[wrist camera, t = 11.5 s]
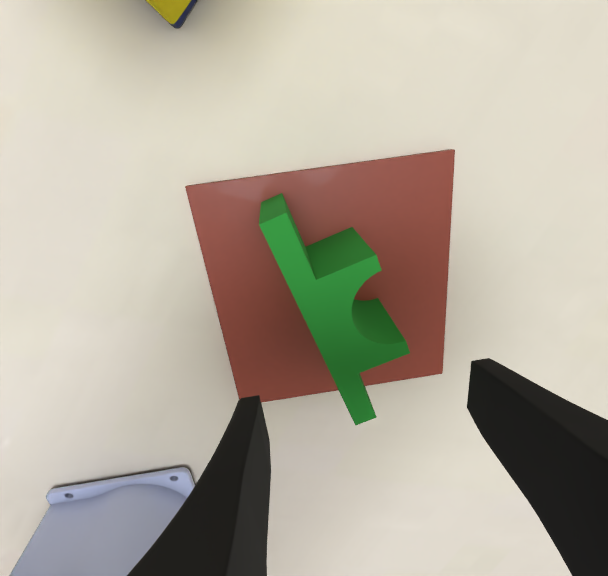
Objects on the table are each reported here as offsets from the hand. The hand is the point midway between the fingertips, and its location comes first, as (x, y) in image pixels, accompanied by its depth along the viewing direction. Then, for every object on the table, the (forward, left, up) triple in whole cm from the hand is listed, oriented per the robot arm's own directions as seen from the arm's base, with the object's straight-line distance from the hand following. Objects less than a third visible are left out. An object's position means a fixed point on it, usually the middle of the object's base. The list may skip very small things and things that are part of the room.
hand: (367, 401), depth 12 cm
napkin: (0, 0, -9) cm, 9 cm away
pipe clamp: (0, +1, -9) cm, 9 cm away
